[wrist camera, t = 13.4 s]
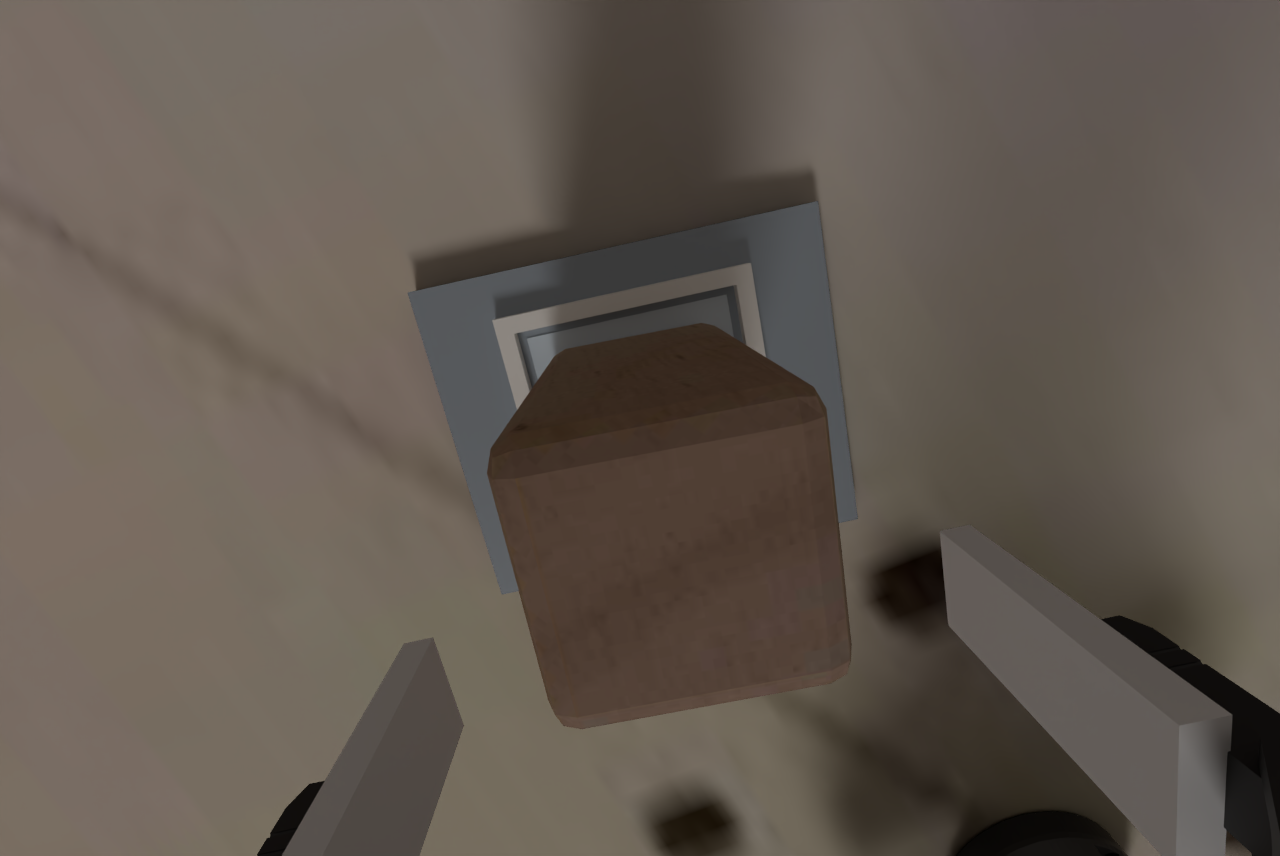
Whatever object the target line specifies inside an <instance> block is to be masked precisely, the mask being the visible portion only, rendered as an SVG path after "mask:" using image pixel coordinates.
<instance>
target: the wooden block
mask: <svg viewBox="0 0 1280 856" xmlns="http://www.w3.org/2000/svg"><path fill="white" fill-rule="evenodd" d="M487 476H488V479H489V483H490V487H491V490H492V494H493V498H494V501H495V505H496V509H497V512H498V516H499V520H500V523H501V527H502V531H503V535H504V538H505V542H506V546H507V549H508V553H509V557H510V560H511V564H512V568H513V571H514V575H515V579H516V582H517V586H518V590H519V594H520V597H521V601H522V605H523V608H524V612H525V616H526V619H527V623H528V627H529V630H530V634H531V638H532V641H533V645H534V649H535V653H536V656H537V660H538V664H539V667H540V671H541V675H542V678H543V682H544V686H545V689H546V693H547V697H548V700H549V703H550V705H551V707H552V709H553V711H554V713H555V715H556V717H557V718H558V719H559V720H560V722H561V723H562V724H563V726H567V727H573V728H579V729H585V728H590V727H596V726H601V725H607V724H612V723H617V722H623V721H628V720H634V719H639V718H645V717H650V716H656V715H661V714H666V713H672V712H677V711H683V710H688V709H694V708H699V707H705V706H710V705H715V704H721V703H726V702H732V701H737V700H743V699H748V698H754V697H759V696H765V695H770V694H775V693H781V692H786V691H792V690H797V689H803V688H808V687H814V686H819V685H824V684H830V683H832V682H834V681H836V680H837V679H839V678H841V677H842V676H844V675H846V674H847V672H848V668H849V665H850V661H851V636H850V626H849V617H848V607H847V598H846V588H845V579H844V569H843V560H842V550H841V541H840V531H839V522H838V512H837V503H836V493H835V484H834V474H833V465H832V455H831V446H830V436H829V427H828V417H827V408H826V407H825V405H824V403H823V402H822V400H821V398H820V396H819V395H818V393H817V391H816V389H815V388H814V387H813V386H812V385H810V384H808V383H807V382H805V381H804V380H802V379H800V378H799V377H797V376H796V375H794V374H792V373H791V372H789V371H787V370H786V369H784V368H783V367H781V366H779V365H778V364H776V363H774V362H773V361H771V360H770V359H768V358H766V357H765V356H763V355H761V354H760V353H758V352H757V351H755V350H753V349H752V348H750V347H748V346H747V345H745V344H744V343H742V342H740V341H739V340H737V339H736V338H734V337H732V336H731V335H729V334H727V333H726V332H724V331H723V330H721V329H719V328H718V327H716V326H714V325H710V324H705V323H698V324H693V325H688V326H682V327H677V328H672V329H667V330H662V331H656V332H651V333H646V334H641V335H635V336H630V337H625V338H620V339H615V340H609V341H604V342H599V343H594V344H589V345H583V346H578V347H573V348H568V349H564V350H563V351H561V352H560V353H558V354H557V355H555V356H554V357H553V359H552V360H551V362H550V363H549V365H548V366H547V367H546V369H545V370H544V372H543V373H542V375H541V376H540V378H539V379H538V380H537V382H536V383H535V385H534V386H533V388H532V389H531V391H530V392H529V394H528V395H527V396H526V398H525V399H524V401H523V402H522V404H521V405H520V407H519V408H518V409H517V411H516V412H515V414H514V415H513V417H512V418H511V420H510V421H509V422H508V424H507V425H506V427H505V428H504V430H503V431H502V433H501V434H500V436H499V437H498V438H497V440H496V441H495V443H494V444H493V446H492V447H491V449H490V456H489V462H488V469H487Z"/></svg>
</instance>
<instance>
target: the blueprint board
mask: <svg viewBox="0 0 1280 856" xmlns="http://www.w3.org/2000/svg"><path fill="white" fill-rule="evenodd" d="M408 296H409V299H410V302H411V305H412V308H413V312H414V315H415V318H416V321H417V324H418V328H419V331H420V334H421V337H422V340H423V344H424V347H425V350H426V353H427V356H428V360H429V363H430V366H431V369H432V372H433V376H434V379H435V382H436V385H437V388H438V392H439V395H440V398H441V401H442V405H443V408H444V411H445V414H446V417H447V421H448V424H449V427H450V430H451V433H452V437H453V440H454V443H455V446H456V449H457V453H458V456H459V459H460V462H461V465H462V469H463V472H464V475H465V478H466V481H467V485H468V488H469V491H470V494H471V497H472V501H473V504H474V507H475V510H476V513H477V517H478V520H479V523H480V526H481V529H482V533H483V536H484V539H485V542H486V545H487V549H488V552H489V555H490V558H491V561H492V565H493V568H494V571H495V574H496V577H497V581H498V584H499V587H500V590H501V593H502V594H506V593H511V592H516V591H519V590H518V586H517V582H516V579H515V575H514V571H513V568H512V564H511V560H510V557H509V553H508V549H507V546H506V542H505V538H504V535H503V531H502V527H501V523H500V520H499V516H498V512H497V509H496V505H495V501H494V498H493V494H492V490H491V487H490V483H489V479H488V476H487V469H488V462H489V456H490V449H491V447H492V446H493V444H494V443H495V441H496V440H497V438H498V437H499V436H500V434H501V433H502V431H503V430H504V428H505V427H506V425H507V424H508V422H509V421H510V420H511V418H512V417H513V415H514V414H515V412H516V411H517V409H518V408H519V407H520V405H521V404H522V402H523V401H524V399H525V398H526V396H527V395H528V394H529V392H530V391H531V389H532V388H533V386H534V385H535V383H536V382H537V380H538V379H539V378H540V376H541V375H542V373H543V372H544V370H545V369H546V367H547V366H548V365H549V363H550V362H551V360H552V359H553V357H554V356H555V355H557V354H558V353H560V352H561V351H563V350H564V349H568V348H573V347H578V346H583V345H589V344H594V343H599V342H604V341H609V340H615V339H620V338H625V337H630V336H635V335H641V334H646V333H651V332H656V331H662V330H667V329H672V328H677V327H682V326H688V325H693V324H698V323H705V324H710V325H714V326H716V327H718V328H719V329H721V330H723V331H724V332H726V333H727V334H729V335H731V336H732V337H734V338H736V339H737V340H739V341H740V342H742V343H744V344H745V345H747V346H748V347H750V348H752V349H753V350H755V351H757V352H758V353H760V354H761V355H763V356H765V357H766V358H768V359H770V360H771V361H773V362H774V363H776V364H778V365H779V366H781V367H783V368H784V369H786V370H787V371H789V372H791V373H792V374H794V375H796V376H797V377H799V378H800V379H802V380H804V381H805V382H807V383H808V384H810V385H812V386H813V387H814V388H815V389H816V391H817V393H818V395H819V396H820V398H821V400H822V402H823V403H824V405H825V407H826V408H827V417H828V427H829V436H830V446H831V455H832V465H833V474H834V484H835V493H836V503H837V512H838V522H839V523H841V522H846V521H850V520H855V519H858V516H857V508H856V500H855V492H854V484H853V476H852V468H851V460H850V452H849V444H848V436H847V428H846V421H845V413H844V405H843V397H842V389H841V381H840V373H839V365H838V357H837V349H836V341H835V333H834V325H833V317H832V309H831V301H830V293H829V285H828V277H827V269H826V261H825V253H824V245H823V237H822V229H821V221H820V214H819V206H818V201H816V202H811V203H807V204H802V205H798V206H793V207H789V208H784V209H780V210H775V211H771V212H766V213H762V214H758V215H753V216H749V217H744V218H740V219H735V220H731V221H726V222H722V223H717V224H713V225H708V226H704V227H699V228H695V229H690V230H686V231H681V232H677V233H673V234H668V235H664V236H659V237H655V238H650V239H646V240H641V241H637V242H632V243H628V244H623V245H619V246H614V247H610V248H605V249H601V250H596V251H592V252H587V253H583V254H579V255H574V256H570V257H565V258H561V259H556V260H552V261H547V262H543V263H538V264H534V265H529V266H525V267H520V268H516V269H511V270H507V271H502V272H498V273H494V274H489V275H485V276H480V277H476V278H471V279H467V280H462V281H458V282H453V283H449V284H444V285H440V286H435V287H431V288H426V289H422V290H417V291H413V292H408Z"/></svg>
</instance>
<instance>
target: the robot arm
mask: <svg viewBox="0 0 1280 856" xmlns="http://www.w3.org/2000/svg"><path fill="white" fill-rule="evenodd" d="M940 540H941V551H942V562H943V573H944V584H945V595H946V606H947V617H948V626H949V627H950V628H951V629H952V630H953V631H954V632H955V633H956V634H957V635H958V636H959V637H960V638H961V640H962V641H963V642H964V643H965V644H966V645H967V646H968V647H969V648H970V649H971V650H972V651H973V652H974V654H975V655H976V656H977V657H978V658H979V659H980V660H981V661H982V662H983V663H984V664H985V665H986V666H987V668H988V669H989V670H990V671H991V672H992V673H993V674H994V675H995V676H996V677H997V678H998V679H999V681H1000V682H1001V683H1002V684H1003V685H1004V686H1005V687H1006V688H1007V689H1008V690H1009V691H1010V692H1011V693H1012V695H1013V696H1014V697H1015V698H1016V699H1017V700H1018V701H1019V702H1020V703H1021V704H1022V705H1023V706H1024V707H1025V709H1026V710H1027V711H1028V712H1029V713H1030V714H1031V715H1032V716H1033V717H1034V718H1035V719H1036V720H1037V721H1038V723H1039V724H1040V725H1041V726H1042V727H1043V728H1044V729H1045V730H1046V731H1047V732H1048V733H1049V734H1050V735H1051V737H1052V738H1053V739H1054V740H1055V741H1056V742H1057V743H1058V744H1059V745H1060V746H1061V747H1062V748H1063V750H1064V751H1065V752H1066V753H1067V754H1068V755H1069V756H1070V757H1071V758H1072V759H1073V760H1074V761H1075V762H1076V764H1077V765H1078V766H1079V767H1080V768H1081V769H1082V770H1083V771H1084V772H1085V773H1086V774H1087V775H1088V776H1089V778H1090V779H1091V780H1092V781H1093V782H1094V783H1095V784H1096V785H1097V786H1098V787H1099V788H1100V789H1101V790H1102V792H1103V793H1104V794H1105V795H1106V796H1107V797H1108V798H1109V799H1110V800H1111V801H1112V802H1113V803H1114V804H1115V806H1116V807H1117V808H1118V809H1119V810H1120V811H1121V812H1122V813H1123V814H1124V815H1125V816H1126V817H1127V819H1128V820H1129V821H1130V822H1131V823H1132V824H1133V825H1134V826H1135V827H1136V828H1137V829H1138V830H1139V831H1140V833H1141V834H1142V835H1143V836H1144V837H1145V838H1146V839H1147V840H1148V841H1149V842H1150V843H1151V844H1152V845H1153V847H1154V848H1155V849H1156V850H1157V851H1158V852H1159V853H1160V854H1161V855H1162V856H1225V845H1226V830H1227V831H1228V832H1229V833H1231V834H1232V835H1233V836H1234V837H1235V838H1236V839H1237V840H1238V841H1239V842H1240V843H1241V844H1242V845H1244V846H1245V847H1246V848H1247V849H1248V850H1249V851H1250V852H1251V853H1252V856H1280V713H1278V712H1277V711H1275V710H1274V709H1272V708H1271V707H1269V706H1268V705H1266V704H1265V703H1263V702H1262V701H1260V700H1259V699H1257V698H1256V697H1254V696H1253V695H1251V694H1250V693H1248V692H1247V691H1245V690H1244V689H1242V688H1241V687H1239V686H1238V685H1236V684H1235V683H1233V682H1232V681H1230V680H1229V679H1227V678H1226V677H1225V676H1223V675H1222V674H1220V673H1219V672H1217V671H1216V670H1214V669H1213V668H1211V667H1210V666H1208V665H1207V664H1204V665H1203V664H1202V663H1201V661H1200V660H1199V659H1198V658H1196V657H1195V656H1193V655H1192V654H1190V653H1189V652H1187V651H1186V650H1184V649H1183V650H1181V649H1180V648H1179V646H1178V645H1177V644H1175V643H1174V642H1172V641H1171V640H1169V639H1168V638H1166V637H1165V636H1163V635H1162V634H1160V633H1159V632H1157V631H1156V630H1154V629H1153V628H1151V627H1148V626H1146V625H1143V624H1140V623H1138V622H1135V621H1133V620H1130V619H1128V618H1125V617H1123V616H1115V617H1110V618H1105V619H1099V618H1098V617H1097V616H1095V615H1094V614H1093V613H1091V612H1090V611H1088V610H1087V609H1086V608H1084V607H1083V606H1081V605H1080V604H1079V603H1077V602H1076V601H1075V600H1073V599H1072V598H1070V597H1069V596H1068V595H1066V594H1065V593H1064V592H1062V591H1061V590H1059V589H1058V588H1057V587H1055V586H1054V585H1053V584H1051V583H1050V582H1048V581H1047V580H1046V579H1044V578H1043V577H1041V576H1040V575H1039V574H1037V573H1036V572H1035V571H1033V570H1032V569H1030V568H1029V567H1028V566H1026V565H1025V564H1024V563H1022V562H1021V561H1019V560H1018V559H1017V558H1015V557H1014V556H1012V555H1011V554H1010V553H1008V552H1007V551H1006V550H1004V549H1003V548H1001V547H1000V546H999V545H997V544H996V543H995V542H993V541H992V540H990V539H989V538H988V537H986V536H985V535H984V534H982V533H981V532H979V531H978V530H977V529H975V528H974V527H972V526H971V525H966V526H961V527H956V528H951V529H947V530H942V531H940ZM463 726H464V725H463V722H462V719H461V716H460V713H459V710H458V707H457V705H456V702H455V699H454V696H453V693H452V690H451V687H450V685H449V682H448V679H447V676H446V673H445V670H444V667H443V665H442V662H441V659H440V656H439V653H438V650H437V647H436V645H435V642H434V639H433V638H428V639H424V640H419V641H414V642H409V643H405V644H404V645H403V646H402V648H401V650H400V651H399V653H398V655H397V657H396V658H395V660H394V662H393V664H392V665H391V667H390V669H389V671H388V672H387V674H386V676H385V678H384V679H383V681H382V683H381V684H380V686H379V688H378V690H377V691H376V693H375V695H374V697H373V698H372V700H371V702H370V704H369V705H368V707H367V709H366V710H365V712H364V714H363V716H362V717H361V719H360V721H359V723H358V724H357V726H356V728H355V730H354V731H353V733H352V735H351V736H350V738H349V740H348V742H347V743H346V745H345V747H344V749H343V750H342V752H341V754H340V756H339V757H338V759H337V761H336V762H335V764H334V766H333V768H332V769H331V771H330V773H329V775H328V776H327V778H326V780H325V781H322V782H317V783H312V784H309V785H308V786H307V787H306V788H305V789H304V790H303V791H302V792H301V793H300V794H299V795H298V796H297V797H296V798H295V799H294V800H293V801H292V802H291V803H290V804H289V805H288V806H287V807H286V809H285V810H284V812H283V813H282V815H281V817H280V818H279V820H278V822H277V823H276V825H275V826H274V828H273V830H272V831H271V833H270V834H271V835H270V838H267V839H266V841H265V842H264V844H263V846H262V847H261V849H260V851H259V852H258V854H257V855H258V856H419V855H420V852H421V849H422V846H423V843H424V840H425V837H426V835H427V832H428V829H429V826H430V823H431V820H432V817H433V814H434V811H435V808H436V805H437V802H438V799H439V797H440V794H441V791H442V788H443V785H444V782H445V779H446V776H447V773H448V770H449V767H450V764H451V761H452V758H453V756H454V753H455V750H456V747H457V744H458V741H459V738H460V735H461V732H462V729H463ZM957 856H1128V855H1127V854H1126V853H1125V852H1124V851H1123V850H1122V848H1121V847H1120V846H1119V845H1118V844H1117V843H1116V841H1115V840H1114V839H1113V838H1112V837H1111V836H1110V834H1109V833H1108V832H1107V831H1106V830H1105V829H1103V828H1102V827H1101V826H1100V825H1098V824H1097V823H1095V822H1093V821H1092V820H1089V819H1087V818H1085V817H1082V816H1079V815H1075V814H1071V813H1065V812H1037V813H1030V814H1025V815H1021V816H1018V817H1014V818H1011V819H1009V820H1006V821H1003V822H1001V823H999V824H997V825H995V826H993V827H991V828H989V829H988V830H986V831H984V832H983V833H981V834H980V835H978V836H977V837H976V838H974V839H973V840H972V841H971V842H970V843H969V844H968V845H966V846H965V847H964V849H963V850H962V851H961V852H960V853H959V854H958V855H957Z"/></svg>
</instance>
